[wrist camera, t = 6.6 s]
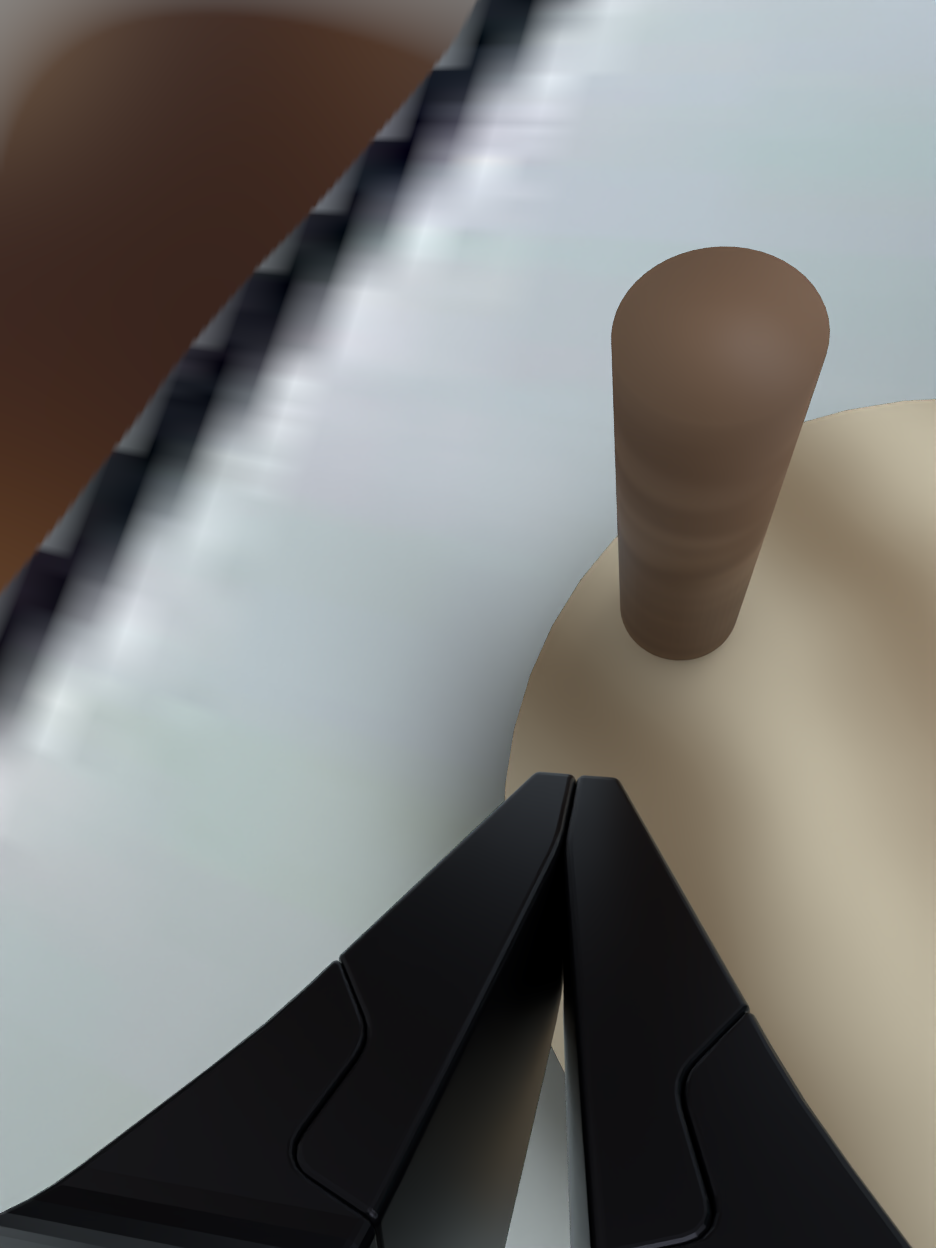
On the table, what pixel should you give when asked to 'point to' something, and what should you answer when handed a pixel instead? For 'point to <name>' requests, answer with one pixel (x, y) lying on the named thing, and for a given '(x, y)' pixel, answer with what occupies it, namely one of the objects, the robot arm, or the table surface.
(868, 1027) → the disc
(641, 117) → the table surface
